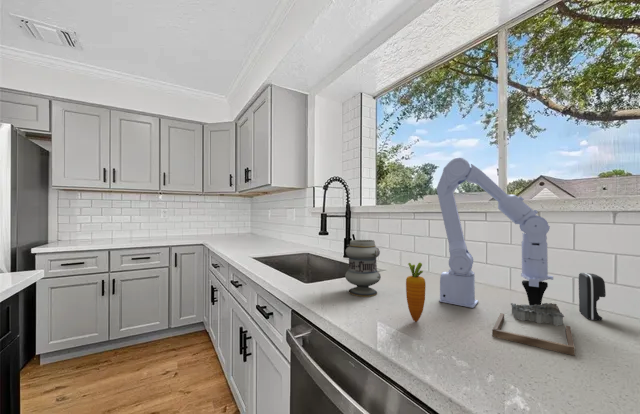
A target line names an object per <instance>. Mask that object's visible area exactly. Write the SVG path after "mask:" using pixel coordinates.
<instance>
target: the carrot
mask: <svg viewBox="0 0 640 414" xmlns="http://www.w3.org/2000/svg"><path fill="white" fill-rule="evenodd" d="M407 265H408V267H409V270H410V272H411V275H408V276H407V277H406V279H405V292H406V301H407V302H406V303H407V307H408V311H409V314H410V316H411V319H412V320H413V322H414V323H417V322H419V320H420V318H421V316H422V313H423V311H424V307H425V301H426V280H425V278H424V277H423V276H420V275H421V274H422V273H423V272H424V270H420V269H421V268H422V267H423V263H422V262H418V263H417V265H415V264H412V263H411V262H408V264H407Z"/></svg>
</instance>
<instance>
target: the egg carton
mask: <svg viewBox="0 0 640 414" xmlns="http://www.w3.org/2000/svg"><path fill="white" fill-rule="evenodd" d="M510 305H511V314H512V315H513V319H517V320H520V321H524V322H525V321H531V322H534V323H535V322H536V323H538V324H542V323H547V324H551V325H553V326H558V327H559V326H563V325H564V317H565V315H564V314H563V313H562V312H561V311H560V308H559V306H558V305H557V303H552V302H543V303H541V305H537V304H535V305H529V304H516V303H513V302H512V303H510Z"/></svg>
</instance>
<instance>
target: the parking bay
mask: <svg viewBox="0 0 640 414" xmlns="http://www.w3.org/2000/svg"><path fill="white" fill-rule="evenodd" d="M504 322H505V313H502V312H501V313H500V314H499V315H498V317H497V320H496V322H495V324H494V325H493V327H492V329H491V331H492V332H491V333H492V334H491V336H492V337H494V338H498V339H502V340H506V341H510V342H511V341H512V342H515V343H519V344H523V345H527V346H531V347H536V348H541V349H545V350H549V351H554V352H556V353H557V352H558V353H561V354H567V355H570V356H573V357H574V356H576V355H575V344H574V338H573V334H572V329H571V326H570V325H565V335H566V343H567V344H565V343H560V342H555V341H553V340H552V341H551V340H546V339H543V338H542V339H541V338H538V337H533V336H529V335H524V334H520V333H515V332H511V331H506V330H502V329H501V328H502V327H503V324H504Z"/></svg>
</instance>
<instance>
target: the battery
mask: <svg viewBox="0 0 640 414" xmlns="http://www.w3.org/2000/svg"><path fill="white" fill-rule="evenodd" d="M603 278H604V277H602V276H600V275H597V274H595V273H589V272H579V274H578V305H579V306H578V310H579V313H580V314H581V315H582V316H584V317H585V318H586V319H587V320H591V321H602V320H603V317H602V316H601V315H600V314H599V313H598V309H597V302H598V301H599V300H600V298H606V295H607V293H606V283H605V280H604V279H603Z"/></svg>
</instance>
